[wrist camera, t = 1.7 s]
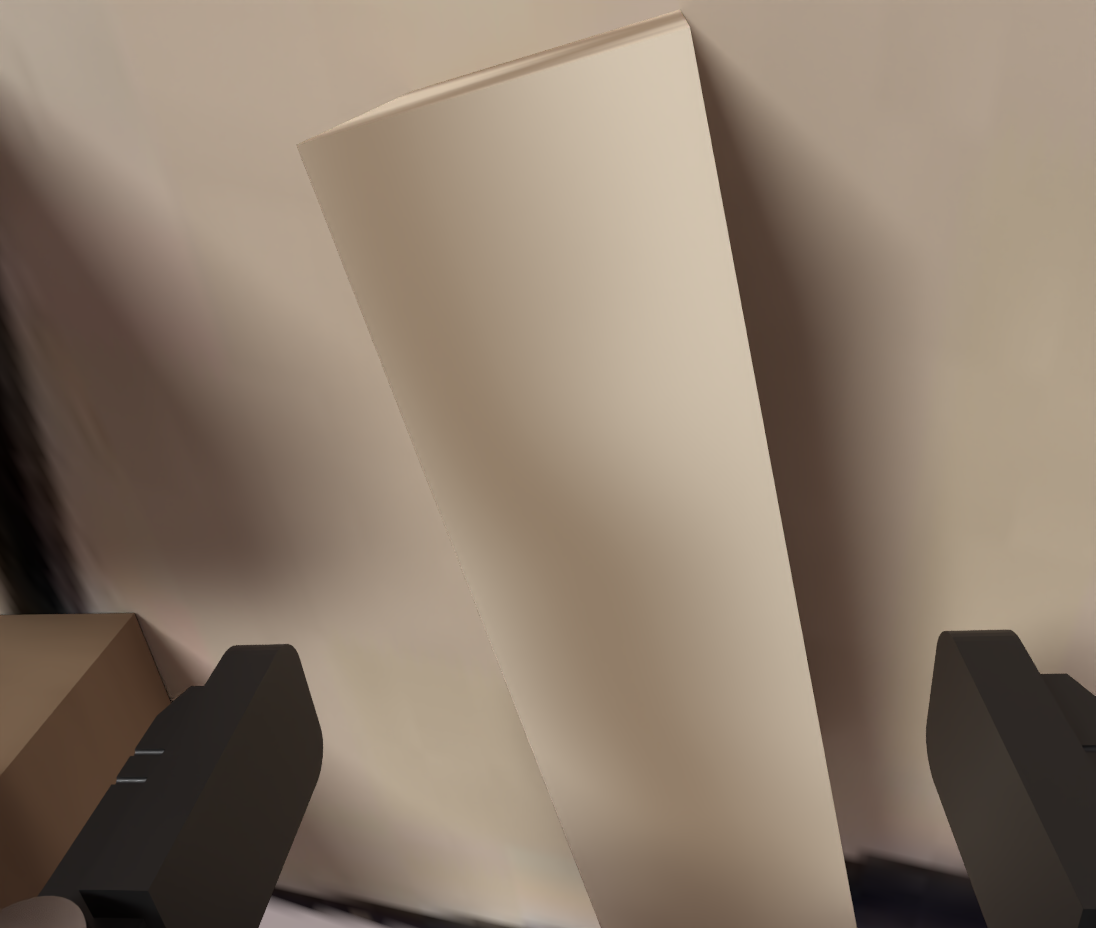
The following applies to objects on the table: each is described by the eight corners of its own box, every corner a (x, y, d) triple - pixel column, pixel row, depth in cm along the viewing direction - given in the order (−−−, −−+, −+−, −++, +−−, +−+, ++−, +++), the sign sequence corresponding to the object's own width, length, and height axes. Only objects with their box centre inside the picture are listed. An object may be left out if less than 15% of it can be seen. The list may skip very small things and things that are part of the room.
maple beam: (679, 9, 12) (690, 27, 8) (815, 731, 19) (863, 964, 14) (415, 89, 13) (297, 144, 9) (629, 753, 19) (620, 977, 15)
